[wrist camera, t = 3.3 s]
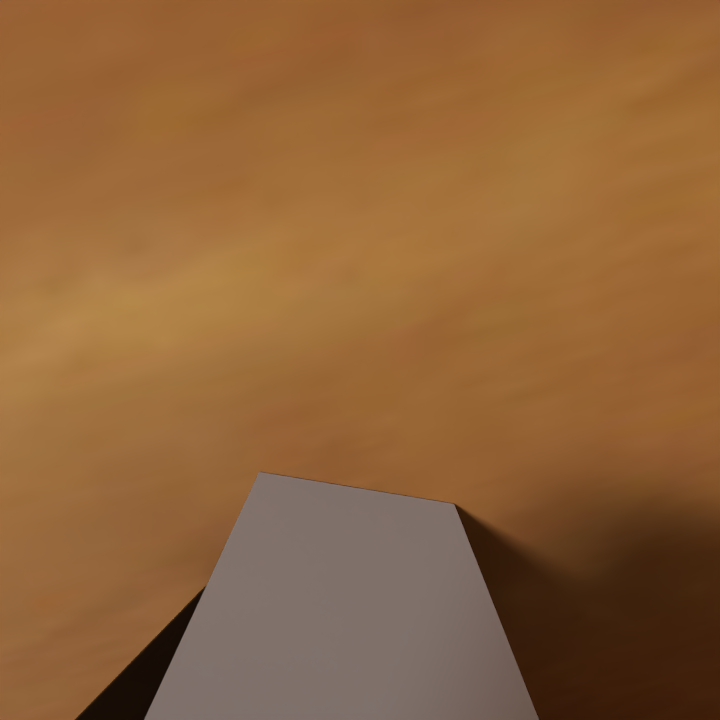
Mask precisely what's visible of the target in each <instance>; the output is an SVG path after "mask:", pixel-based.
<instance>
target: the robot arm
mask: <svg viewBox="0 0 720 720" xmlns="http://www.w3.org/2000/svg"><path fill="white" fill-rule="evenodd" d="M206 586H207V585H206ZM206 586H205V587H204V588H203V589H202V590H201V591H200V592H199V593H198V594H197V595H196V596H195V597H194V598H193V599H192V600H191V601H190V602H189V603H188V604H187V605H186V606H185V607H184V608H183V610H182V611H181V612H180V613H179V614H178V615H177V616H176V617H175V618H174V619H173V620H172V621H171V622H170V623H169V624H168V625H167V626H166V627H165V628H164V629H163V630H162V631H161V632H160V633H159V634H158V635H157V636H156V637H155V638H154V639H153V640H152V641H151V642H150V643H149V644H148V645H147V646H146V647H145V648H144V649H143V650H142V651H141V652H140V654H139V655H138V656H137V657H136V658H135V659H134V660H133V661H132V662H131V663H130V664H129V665H128V666H127V667H126V668H125V669H124V670H123V671H122V672H121V673H120V674H119V675H118V676H117V677H116V678H115V679H114V680H113V681H112V682H111V683H110V684H109V685H108V686H107V687H106V688H105V689H104V690H103V691H102V692H101V693H100V694H99V695H98V696H97V698H96V699H95V700H94V701H93V702H92V703H91V704H90V705H89V706H88V707H87V708H86V709H85V710H84V711H83V712H82V713H81V714H80V715H79V716H78V717H77V718H76V719H75V720H144V719H145V717H146V715H147V713H148V711H149V708H150V706H151V704H152V702H153V700H154V698H155V695H156V693H157V691H158V689H159V687H160V685H161V683H162V680H163V678H164V676H165V674H166V672H167V670H168V667H169V665H170V663H171V661H172V659H173V657H174V655H175V652H176V650H177V648H178V646H179V644H180V642H181V639H182V637H183V635H184V633H185V631H186V629H187V627H188V624H189V622H190V620H191V618H192V616H193V614H194V611H195V609H196V607H197V605H198V603H199V601H200V599H201V596H202V594H203V592H204V590H205V588H206ZM538 719H539V720H540V718H539V717H538Z"/></svg>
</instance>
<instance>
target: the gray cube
mask: <svg viewBox="0 0 720 720" xmlns="http://www.w3.org/2000/svg"><path fill="white" fill-rule="evenodd" d="M144 720H539V719H538V716H537V714H536V711H535V709H534V706H533V703H532V701H531V698H530V696H529V693H528V691H527V688H526V686H525V683H524V681H523V678H522V675H521V673H520V670H519V668H518V665H517V663H516V660H515V658H514V655H513V653H512V650H511V647H510V645H509V642H508V640H507V637H506V635H505V632H504V630H503V627H502V625H501V622H500V619H499V617H498V614H497V612H496V609H495V607H494V604H493V602H492V599H491V597H490V594H489V591H488V589H487V586H486V584H485V581H484V579H483V576H482V574H481V571H480V569H479V566H478V563H477V561H476V558H475V556H474V553H473V551H472V548H471V546H470V543H469V541H468V538H467V535H466V533H465V530H464V528H463V525H462V523H461V520H460V518H459V515H458V513H457V510H456V507H455V505H454V504H452V503H446V502H440V501H434V500H427V499H421V498H415V497H409V496H403V495H397V494H391V493H385V492H379V491H373V490H367V489H361V488H354V487H348V486H342V485H336V484H330V483H324V482H318V481H312V480H306V479H300V478H294V477H288V476H281V475H275V474H269V473H263V472H259V474H258V476H257V478H256V480H255V482H254V484H253V487H252V489H251V491H250V493H249V495H248V497H247V500H246V502H245V504H244V506H243V508H242V510H241V512H240V515H239V517H238V519H237V521H236V523H235V525H234V527H233V530H232V532H231V534H230V536H229V538H228V540H227V543H226V545H225V547H224V549H223V551H222V553H221V555H220V558H219V560H218V562H217V564H216V566H215V568H214V571H213V573H212V575H211V577H210V579H209V581H208V583H207V586H206V588H205V590H204V592H203V594H202V596H201V599H200V601H199V603H198V605H197V607H196V609H195V611H194V614H193V616H192V618H191V620H190V622H189V624H188V627H187V629H186V631H185V633H184V635H183V637H182V639H181V642H180V644H179V646H178V648H177V650H176V652H175V655H174V657H173V659H172V661H171V663H170V665H169V667H168V670H167V672H166V674H165V676H164V678H163V680H162V683H161V685H160V687H159V689H158V691H157V693H156V695H155V698H154V700H153V702H152V704H151V706H150V708H149V711H148V713H147V715H146V717H145V719H144Z"/></svg>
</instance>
